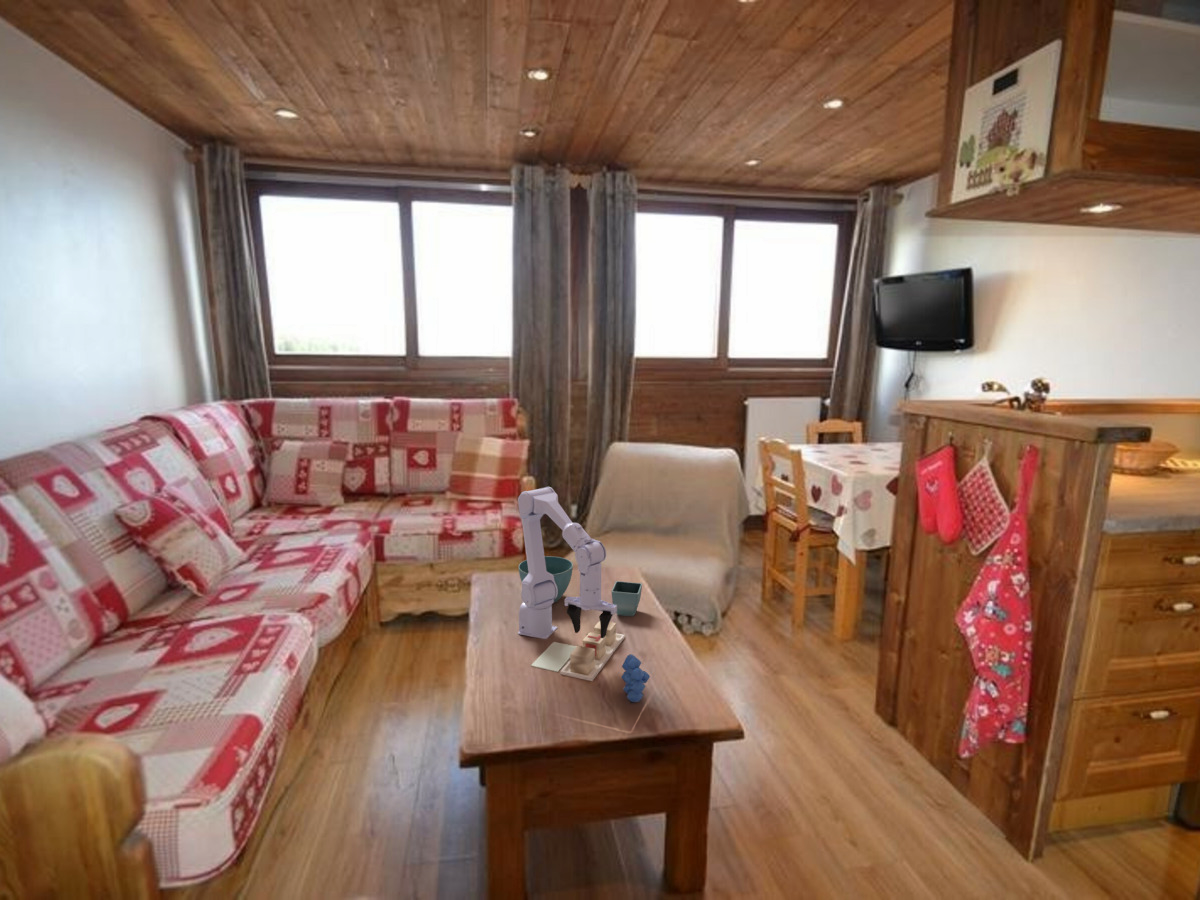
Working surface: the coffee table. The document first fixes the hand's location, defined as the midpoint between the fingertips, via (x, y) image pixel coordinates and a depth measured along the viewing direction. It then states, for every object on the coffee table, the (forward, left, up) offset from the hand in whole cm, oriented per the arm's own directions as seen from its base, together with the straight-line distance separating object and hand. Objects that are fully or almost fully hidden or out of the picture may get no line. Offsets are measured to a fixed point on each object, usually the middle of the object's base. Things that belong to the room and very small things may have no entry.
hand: (590, 633), depth 162 cm
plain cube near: (0, -5, -7) cm, 9 cm away
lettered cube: (0, +3, -7) cm, 8 cm away
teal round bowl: (-29, +32, -8) cm, 44 cm away
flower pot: (0, +32, -8) cm, 33 cm away
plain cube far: (0, +11, -7) cm, 13 cm away
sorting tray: (0, +3, -8) cm, 8 cm away
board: (-9, -2, -8) cm, 12 cm away
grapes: (+18, -13, -8) cm, 23 cm away
